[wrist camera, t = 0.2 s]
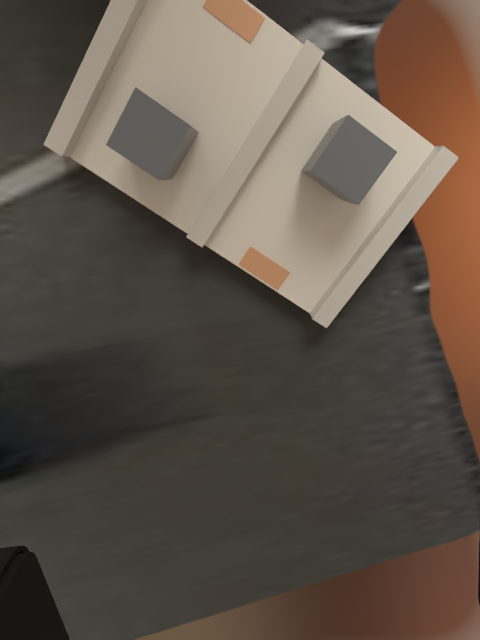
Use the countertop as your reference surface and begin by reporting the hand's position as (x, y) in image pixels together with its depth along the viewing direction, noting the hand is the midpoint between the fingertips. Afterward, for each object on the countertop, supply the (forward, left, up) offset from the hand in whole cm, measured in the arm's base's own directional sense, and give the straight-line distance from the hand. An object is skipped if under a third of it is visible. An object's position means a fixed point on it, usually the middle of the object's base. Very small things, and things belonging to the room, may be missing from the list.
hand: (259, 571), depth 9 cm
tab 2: (-11, +1, -28) cm, 30 cm away
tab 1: (-5, -11, -28) cm, 31 cm away
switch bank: (-8, -5, -31) cm, 32 cm away
